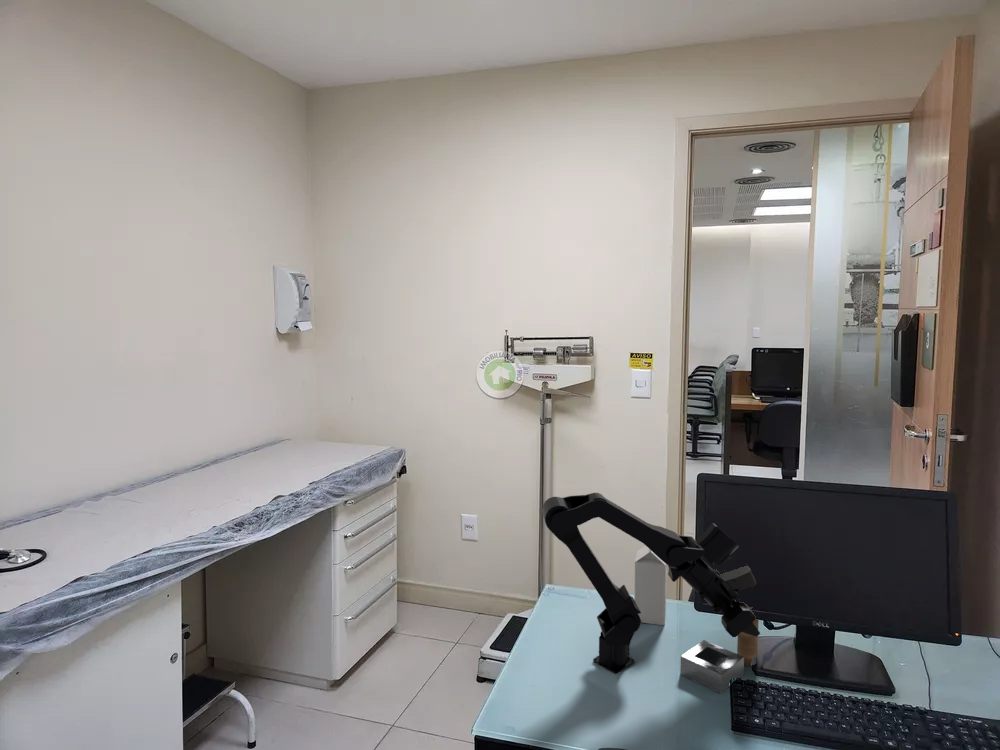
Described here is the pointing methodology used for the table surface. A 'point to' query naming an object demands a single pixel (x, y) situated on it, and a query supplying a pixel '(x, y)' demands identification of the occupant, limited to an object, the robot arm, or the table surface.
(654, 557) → the milk carton
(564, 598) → the table surface
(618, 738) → the table surface
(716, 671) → the socket block
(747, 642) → the peg
